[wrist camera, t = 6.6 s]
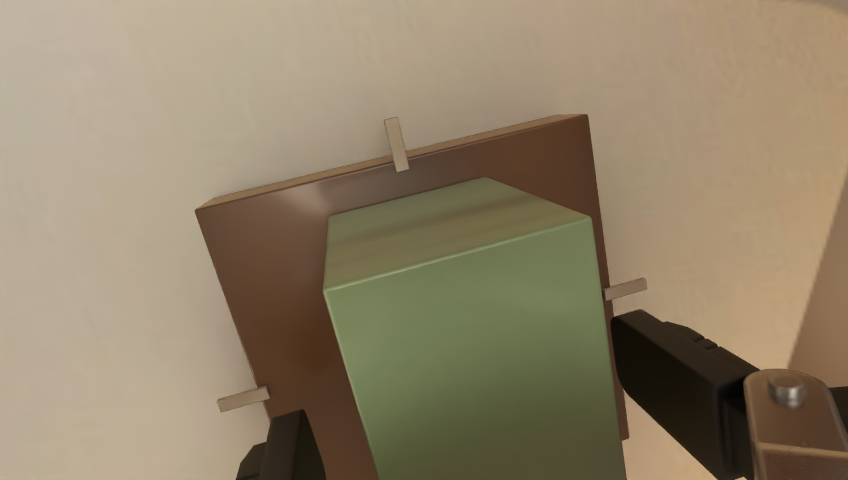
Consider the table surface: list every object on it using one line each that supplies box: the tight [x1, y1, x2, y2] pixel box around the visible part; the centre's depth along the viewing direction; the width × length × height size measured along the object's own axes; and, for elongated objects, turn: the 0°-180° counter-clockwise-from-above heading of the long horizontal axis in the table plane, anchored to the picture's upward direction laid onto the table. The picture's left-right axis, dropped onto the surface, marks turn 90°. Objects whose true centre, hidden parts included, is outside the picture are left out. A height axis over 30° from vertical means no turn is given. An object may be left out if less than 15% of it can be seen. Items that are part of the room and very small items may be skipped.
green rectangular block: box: [323, 177, 627, 480], centre depth 12 cm, size 9×4×6 cm, turn 13°
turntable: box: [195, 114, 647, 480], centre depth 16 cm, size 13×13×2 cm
